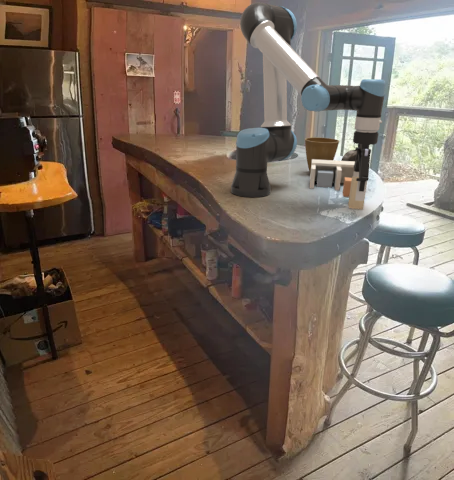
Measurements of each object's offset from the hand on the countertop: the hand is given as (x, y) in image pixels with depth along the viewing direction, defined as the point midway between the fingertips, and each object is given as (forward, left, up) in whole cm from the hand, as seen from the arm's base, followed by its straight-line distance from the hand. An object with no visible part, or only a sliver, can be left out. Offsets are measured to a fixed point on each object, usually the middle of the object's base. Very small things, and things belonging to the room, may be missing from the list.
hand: (357, 195), depth 137 cm
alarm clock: (+3, +48, -4) cm, 48 cm away
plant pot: (-12, +49, -4) cm, 51 cm away
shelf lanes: (-5, +29, -4) cm, 30 cm away
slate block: (-10, +29, -4) cm, 31 cm away
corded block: (0, +9, -4) cm, 10 cm away
